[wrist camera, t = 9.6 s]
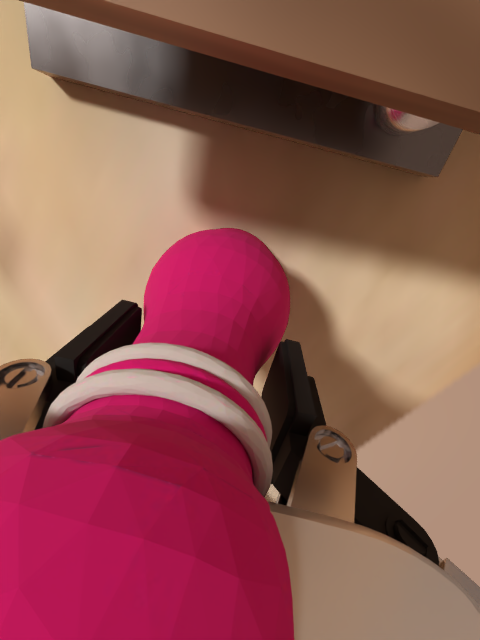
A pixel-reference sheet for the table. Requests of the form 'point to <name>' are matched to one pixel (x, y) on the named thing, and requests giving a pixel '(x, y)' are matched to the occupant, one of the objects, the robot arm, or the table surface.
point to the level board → (325, 44)
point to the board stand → (233, 93)
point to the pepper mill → (157, 470)
